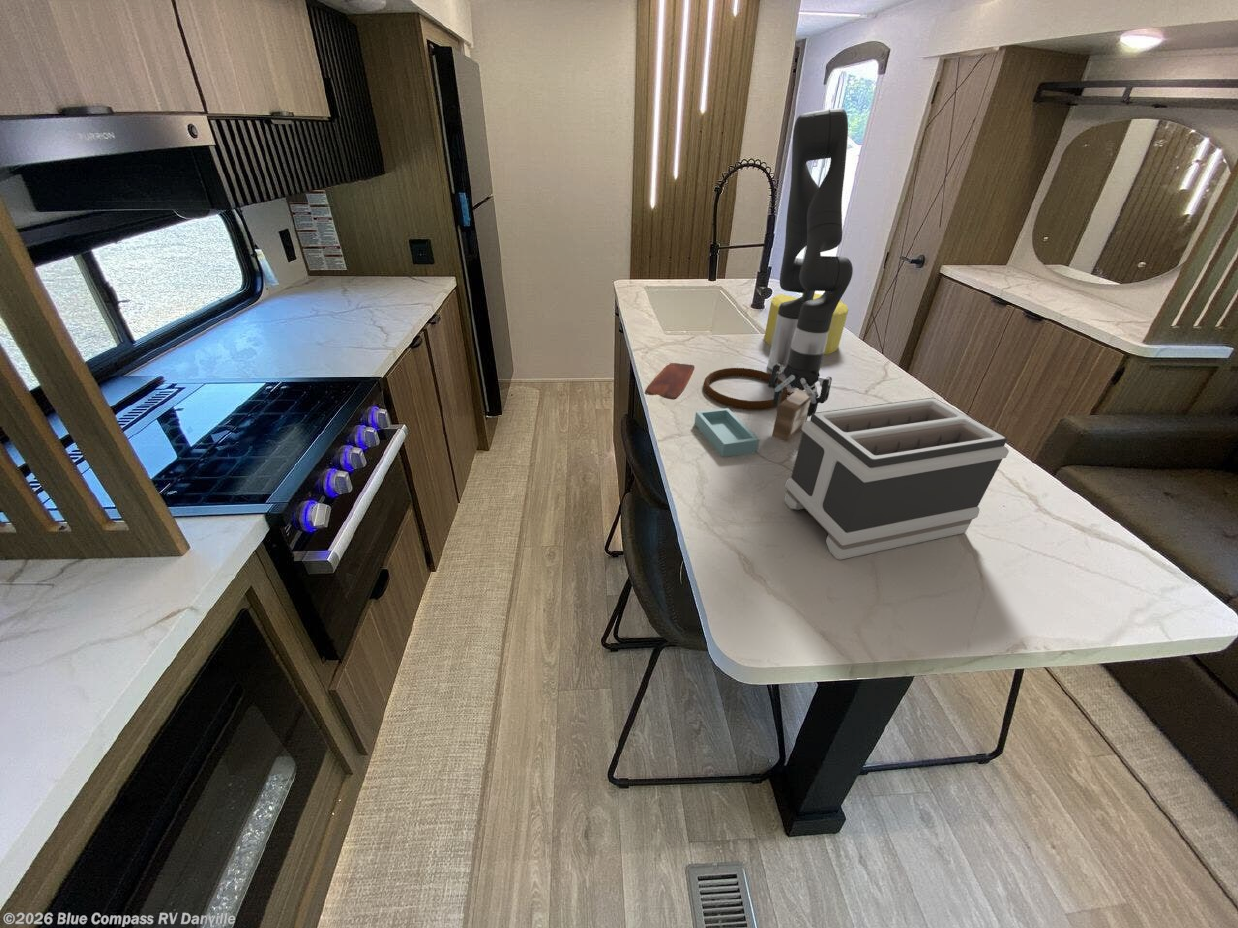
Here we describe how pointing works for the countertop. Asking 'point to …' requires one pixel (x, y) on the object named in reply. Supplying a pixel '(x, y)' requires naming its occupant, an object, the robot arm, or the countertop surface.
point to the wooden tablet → (670, 380)
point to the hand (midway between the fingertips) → (792, 410)
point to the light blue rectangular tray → (726, 432)
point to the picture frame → (791, 415)
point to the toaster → (892, 474)
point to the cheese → (834, 329)
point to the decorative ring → (736, 402)
